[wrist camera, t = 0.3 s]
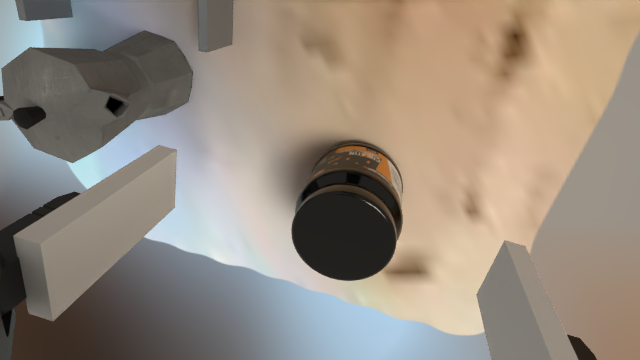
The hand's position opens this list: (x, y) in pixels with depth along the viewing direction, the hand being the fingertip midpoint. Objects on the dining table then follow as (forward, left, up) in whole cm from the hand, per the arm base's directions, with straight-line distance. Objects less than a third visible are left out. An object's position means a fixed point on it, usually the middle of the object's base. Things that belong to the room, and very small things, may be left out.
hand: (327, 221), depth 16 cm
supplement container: (+12, 0, -28) cm, 31 cm away
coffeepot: (+4, -26, -28) cm, 38 cm away
